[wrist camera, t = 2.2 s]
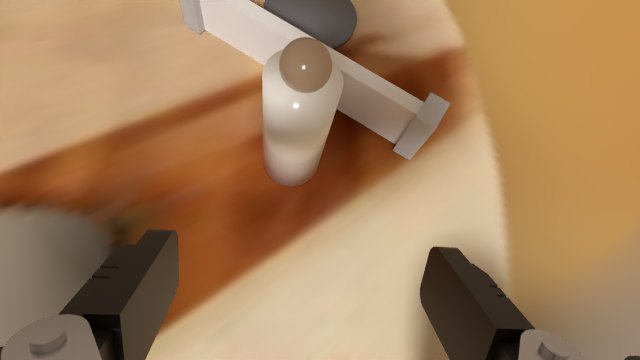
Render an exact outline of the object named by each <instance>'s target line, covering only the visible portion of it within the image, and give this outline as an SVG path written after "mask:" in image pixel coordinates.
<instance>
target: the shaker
mask: <svg viewBox="0 0 640 360" xmlns="http://www.w3.org/2000/svg"><path fill="white" fill-rule="evenodd" d="M262 80H263V166H264V169H265V171H266V173H267V175H268V176H269V177H270V178H271V179H272V180H273V181H275V182H276V183H278V184H281V185H284V186H291V187H293V186H299V185H302V184H304V183H306V182H308V181H309V180H310V179H311V178H312V177H313V176H314V174H315V173H316V170H317V167H318V164H319V161H320V158H321V155H322V152H323V149H324V146H325V143H326V139H327V136H328V133H329V130H330V127H331V124H332V121H333V118H334V115H335V112H336V109H337V106H338V102H339V99H340V96H341V93H342V90H343V84H344V81H343V75H342V72H341V70H340V68H339V66H338V65H337V64H336V62H335V61H334V60H333V59H332V58H331V56H330V53H329V51H328V50H327V48H326V47H325V46H324V45H323V44H322V43H321V42H319V41H318V40H316V39H313V38H309V37H301V38H297V39H295V40H293V41H291V42H290V43H288V44H287V45H286V46H285V48H284V49H283V50H280V51H278V52H276V53H275V54H273V55H272V56H271V57H270V58H269V59H268V61H267V62H266V64H265V66H264V69H263V77H262Z"/></svg>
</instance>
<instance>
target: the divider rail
mask: <svg viewBox="0 0 640 360" xmlns="http://www.w3.org/2000/svg"><path fill="white" fill-rule="evenodd" d="M179 1H180V5H181V9H182V13H183V17H184V21H185V25H186V26H187V27H189V28H191V29H192V30H194V31H196V32H197V33H199V34H201V33H202V32H204V31H205V30H206V31H208V32H209V33H211V34H213V35H214V36H216V37H218V38H219V39H221V40H223V41H224V42H226V43H228V44H229V45H231V46H233V47H234V48H236V49H238V50H239V51H241V52H243V53H244V54H246V55H248V56H249V57H251V58H253V59H254V60H256V61H258V62H259V63H261V64H263V65H264V66H265V64H266V62H267V61H268V59H269V58H270V57H271V56H272V55H273V54H275V53H276V52H278V51H280V50H283V49H284V48H285V46H286V45H287V44H288V43H290V42H291V41H293V40H295V39H297V38H301V37H309V38H313V37H311V36H309V35H308V34H306V33H304V32H303V31H301V30H299V29H297V28H296V27H294V26H292V25H291V24H289V23H287V22H285V21H284V20H282V19H280V18H279V17H277V16H275V15H273V14H272V13H270V12H268V11H267V10H265V9H263V8H261V7H260V6H258V5H256V4H255V3H253V2H251V1H249V0H179ZM313 39H315V38H313ZM319 42H320V41H319ZM322 44H323V43H322ZM323 45H324V46H325V47H326V48H327V50H328V51H329V53H330V56H331V58H332V59H333V60H334V61H335V62H336V64H337V65H338V66H339V68H340V70H341V72H342V75H343V81H344V84H343V90H342V93H341V96H340V99H339V102H338V106H337V110H339V111H341V112H342V113H344V114H346V115H347V116H349V117H351V118H352V119H354V120H356V121H357V122H359V123H361V124H362V125H364V126H366V127H367V128H369V129H371V130H372V131H374V132H375V133H377V134H379V135H380V136H382V137H384V138H385V139H387V140H389V141H390V142H392V143H394V144H395V145H396V146H395V147H394V149H393V151H394V152H396V153H398V154H399V155H401V156H402V157H404V158H406V159H407V160H410V159H411V158H412V157H413V156H414V154H415V153H416V152H417V151H418V150H419V148H420V147H421V146H422V145H423V144H424V143H425V141H426V140H427V139H428V138H429V137H430V135H431V134H432V133H433V132H434V131H435V130H436V128H437V127H438V125H439V123H440V121H441V119H442V117H443V116H444V114H445V112H446V110H447V108H448V107H449V105H450V103H449V102H447V101H445V100H444V99H442V98H440V97H439V96H437V95H435V94H433V93H432V92H431V93H430V94H429V96H428V97H427V99H426V100H425V102H423V101H421V100H419V99H418V98H416V97H414V96H412V95H411V94H409V93H407V92H406V91H404V90H402V89H400V88H399V87H397V86H395V85H393V84H392V83H390V82H388V81H387V80H385V79H383V78H381V77H380V76H378V75H376V74H375V73H373V72H371V71H369V70H368V69H366V68H364V67H363V66H361V65H359V64H357V63H356V62H354V61H352V60H351V59H349V58H347V57H345V56H344V55H342V54H340V53H339V52H337V51H335V50H333V49H332V48H330V47H328V46H327V45H325V44H323Z"/></svg>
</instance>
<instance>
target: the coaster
mask: <svg viewBox="0 0 640 360" xmlns="http://www.w3.org/2000/svg"><path fill="white" fill-rule="evenodd" d="M264 9H265V10H267V11H268V12H270V13H272V14H273V15H275V16H277V17H279V18H280V19H282V20H284V21H285V22H287V23H289V24H291V25H292V26H294V27H296V28H297V29H299V30H301V31H303V32H304V33H306V34H308V35H309V36H311V37H313V38H315V39H316V40H318V41H320V42H321V43H323V44H325V45H327V46H328V47H330V48H332V49H335V48H337V47H339V46H341V45H343V44H344V43H346V42H347V41H348V40H349V39H350V37H351V36H352V34H353V32H354V29H355V26H356V21H357V16H356V11H355V8H354V6H353V4H352V3H351V1H350V0H265V4H264Z"/></svg>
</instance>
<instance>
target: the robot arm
mask: <svg viewBox="0 0 640 360" xmlns="http://www.w3.org/2000/svg"><path fill="white" fill-rule="evenodd" d="M178 281H179V257H178V235H177V232H176V231H175V230H162V229H148V230H147V231H146V233H145V234H144V235H143V236H142V238H141V239H140V240H139V242H138V243H137V244H136V245H129V244H127V245H125V246H124V247H122V248H120V249H119V250H117V251H115V252H113V253H112V254H110V256H109V257H108V258H107V259H106V260H105V261H104V263H103V264H102V265H101V267H100V268H98V269H97V271H96V272H95V273H94V274H93V275H92V278H91V279H89V280H88V281H87V282H86V283H85V285H84V286H83V287H82V288H81V289H80V290H79V291H78V293H77V294H76V295H75V296H74V297H73V298H72V299H71V301H70V302H69V303H68V304H67V305H66V306H65V308H64V309H63V310H62V311H61V312H60V314H58V315H56V316H50V317H47V318H43V319H41V320H38V321H36V322H34V323H31V324H29V325H27V326H26V327H24V328H22V329H21V330H20V331H18V332H17V333H15V334H14V335H13V336H12V337H11V338H10V339H9V340H8V341H7V342H6V344H5V345H4V346H3V347H0V360H145V359H146V357H147V355H148V352H149V350H150V348H151V346H152V344H153V342H154V340H155V337H156V335H157V333H158V331H159V329H160V327H161V324H162V322H163V320H164V318H165V316H166V314H167V311H168V309H169V307H170V305H171V303H172V301H173V299H174V296H175V294H176V291H177V287H178ZM420 298H421V303H422V306H423V308H424V310H425V312H426V314H427V316H428V318H429V320H430V322H431V324H432V326H433V328H434V329H435V331H436V333H437V335H438V337H439V339H440V341H441V343H442V345H443V347H444V349H445V351H446V353H447V355H448V357H449V359H450V360H586V359H585V357H584V356H583V355H582V354H581V353H580V352H579V351H578V350H577V349H576V348H575V347H574V346H572V345H571V344H570V343H568V342H567V341H565V340H564V339H562V338H560V337H558V336H556V335H554V334H552V333H549V332H546V331H542V330H536V329H535V328H534V327H533V326H532V325H531V324H530V322H529V321H528V320H527V319H526V318H525V317H524V316H523V314H522V313H521V312H520V311H519V310H518V309H517V307H516V306H515V305H514V304H513V303H512V302H511V301H510V299H509V298H506V295H505V294H504V292H503V291H502V290H501V289H500V288H498V286H497V284H496V283H495V282H494V281H493V280H492V279H491V278H490V276H489V275H488V274H487V273H485V272H484V271H482V270H481V269H479V268H478V267H477V266H475V265H474V264H471V263H470V262H469V261H468V260H467V258H466V257H465V256H464V255H463V254H462V252H461V251H460V250H459V249H457V248H449V247H433V248H432V249H431V250H430V252H429V256H428V260H427V264H426V267H425V271H424V275H423V279H422V283H421V287H420ZM625 360H640V356H629V357H627V358H625Z"/></svg>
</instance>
